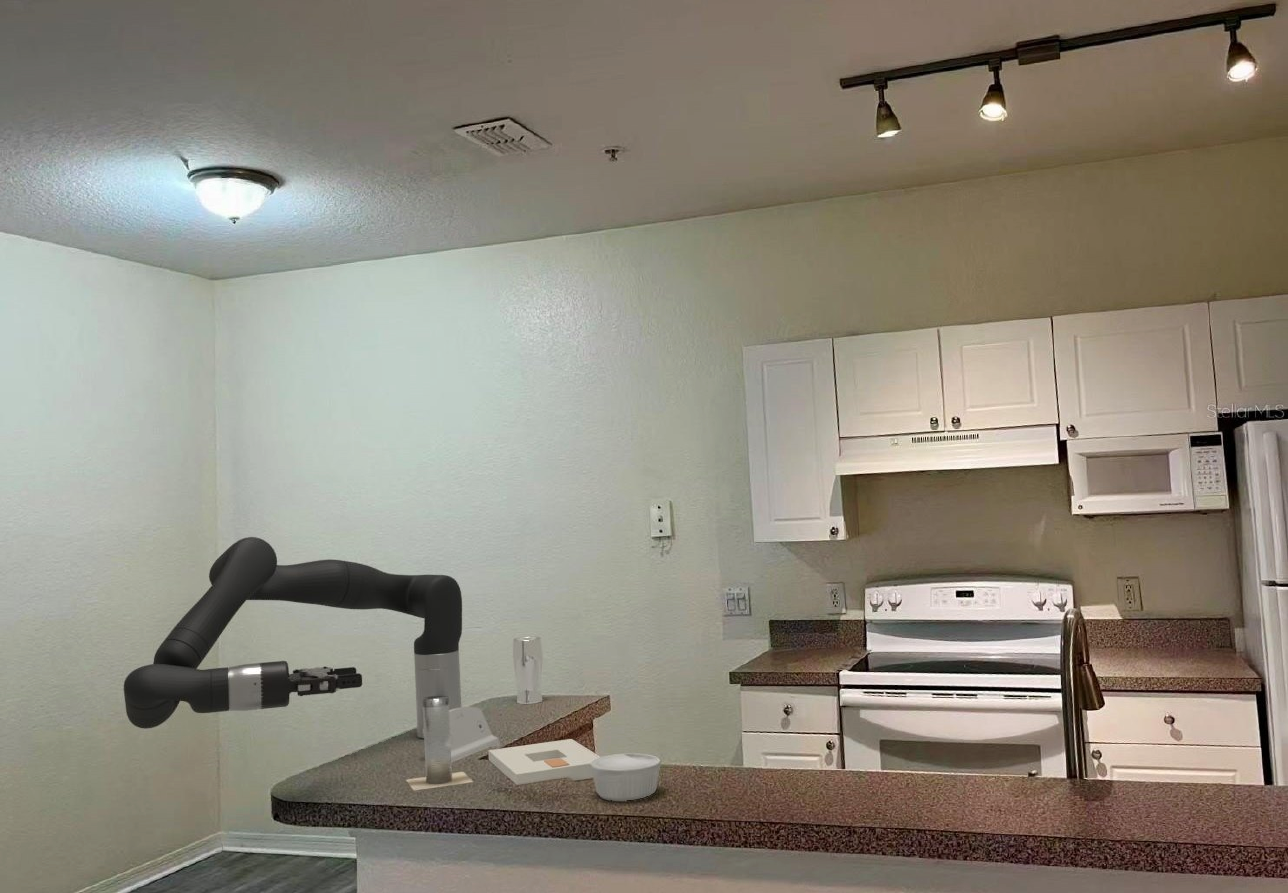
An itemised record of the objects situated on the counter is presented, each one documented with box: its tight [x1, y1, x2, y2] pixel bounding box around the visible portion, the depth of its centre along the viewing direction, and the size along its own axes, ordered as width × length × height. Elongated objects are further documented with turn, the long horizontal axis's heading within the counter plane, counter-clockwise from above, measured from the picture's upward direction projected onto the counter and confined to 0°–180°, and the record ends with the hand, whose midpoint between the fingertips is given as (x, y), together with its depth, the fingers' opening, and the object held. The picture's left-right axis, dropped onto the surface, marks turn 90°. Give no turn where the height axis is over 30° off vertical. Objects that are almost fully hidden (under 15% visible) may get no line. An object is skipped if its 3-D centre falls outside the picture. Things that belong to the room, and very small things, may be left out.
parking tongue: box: [405, 771, 474, 792], centre depth 185 cm, size 8×10×1 cm
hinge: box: [423, 706, 501, 763], centre depth 206 cm, size 17×5×10 cm, turn 154°
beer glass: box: [512, 636, 543, 705], centre depth 258 cm, size 7×7×15 cm
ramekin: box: [590, 752, 662, 802], centre depth 174 cm, size 11×11×5 cm
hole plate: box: [487, 738, 601, 786], centre depth 192 cm, size 20×16×3 cm
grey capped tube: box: [423, 696, 453, 784], centre depth 185 cm, size 4×4×14 cm
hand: (359, 676), depth 185 cm, fingers open, 8 cm apart
